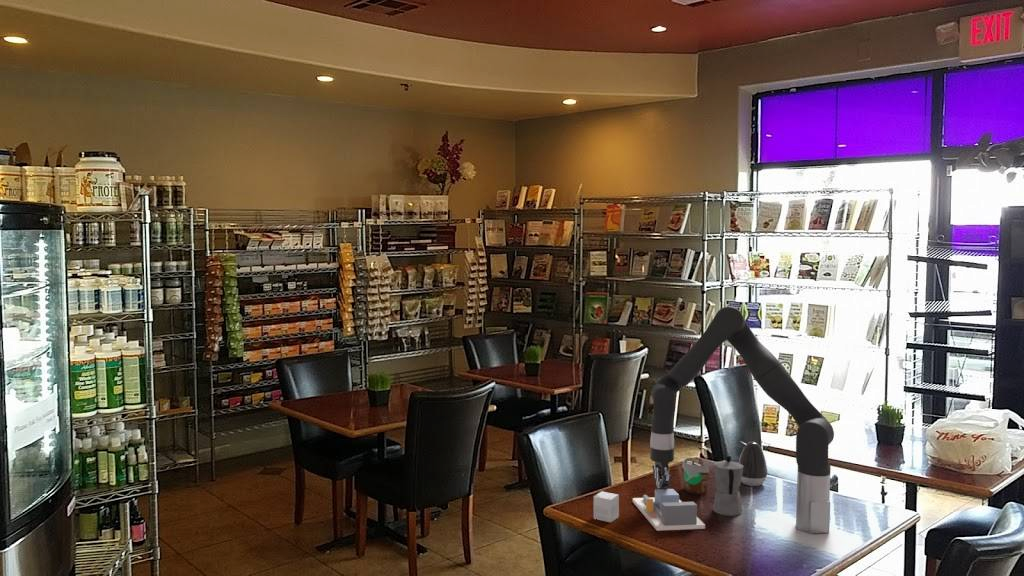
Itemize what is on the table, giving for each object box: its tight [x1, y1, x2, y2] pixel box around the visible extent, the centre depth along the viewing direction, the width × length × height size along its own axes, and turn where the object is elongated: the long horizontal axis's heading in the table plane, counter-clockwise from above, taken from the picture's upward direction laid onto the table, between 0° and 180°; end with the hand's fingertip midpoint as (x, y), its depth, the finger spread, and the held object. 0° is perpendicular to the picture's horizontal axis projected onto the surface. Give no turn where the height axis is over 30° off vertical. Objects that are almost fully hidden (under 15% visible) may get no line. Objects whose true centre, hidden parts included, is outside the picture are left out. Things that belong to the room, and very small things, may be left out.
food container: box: [681, 456, 710, 495], centre depth 274 cm, size 12×6×10 cm, turn 17°
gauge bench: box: [632, 494, 706, 532], centre depth 250 cm, size 26×15×7 cm, turn 7°
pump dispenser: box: [738, 441, 768, 487], centre depth 282 cm, size 10×10×15 cm
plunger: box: [644, 488, 680, 511], centre depth 248 cm, size 11×10×6 cm
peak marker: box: [646, 499, 653, 512], centre depth 248 cm, size 1×2×4 cm, turn 97°
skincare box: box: [593, 490, 620, 523], centre depth 247 cm, size 6×6×7 cm
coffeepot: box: [712, 455, 744, 517], centre depth 252 cm, size 15×9×18 cm, turn 171°
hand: (661, 498), depth 257 cm, fingers closed
